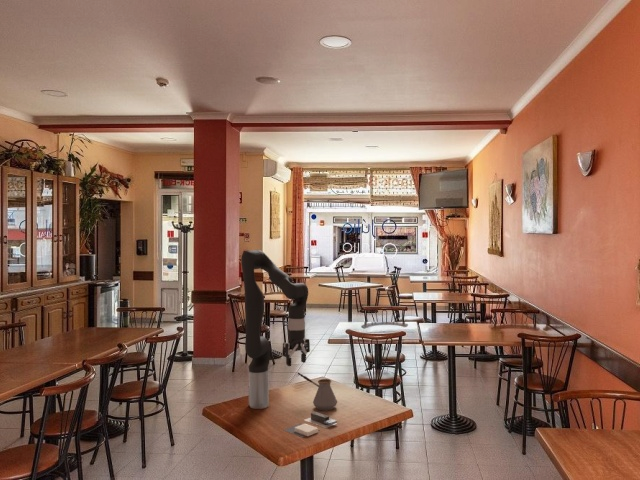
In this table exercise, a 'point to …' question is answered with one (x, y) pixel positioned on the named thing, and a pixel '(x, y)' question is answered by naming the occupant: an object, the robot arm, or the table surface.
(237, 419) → the table surface
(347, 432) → the table surface
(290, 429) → the mat
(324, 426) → the rest pad
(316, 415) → the grey post on base
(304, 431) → the tile
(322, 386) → the coffee pot
